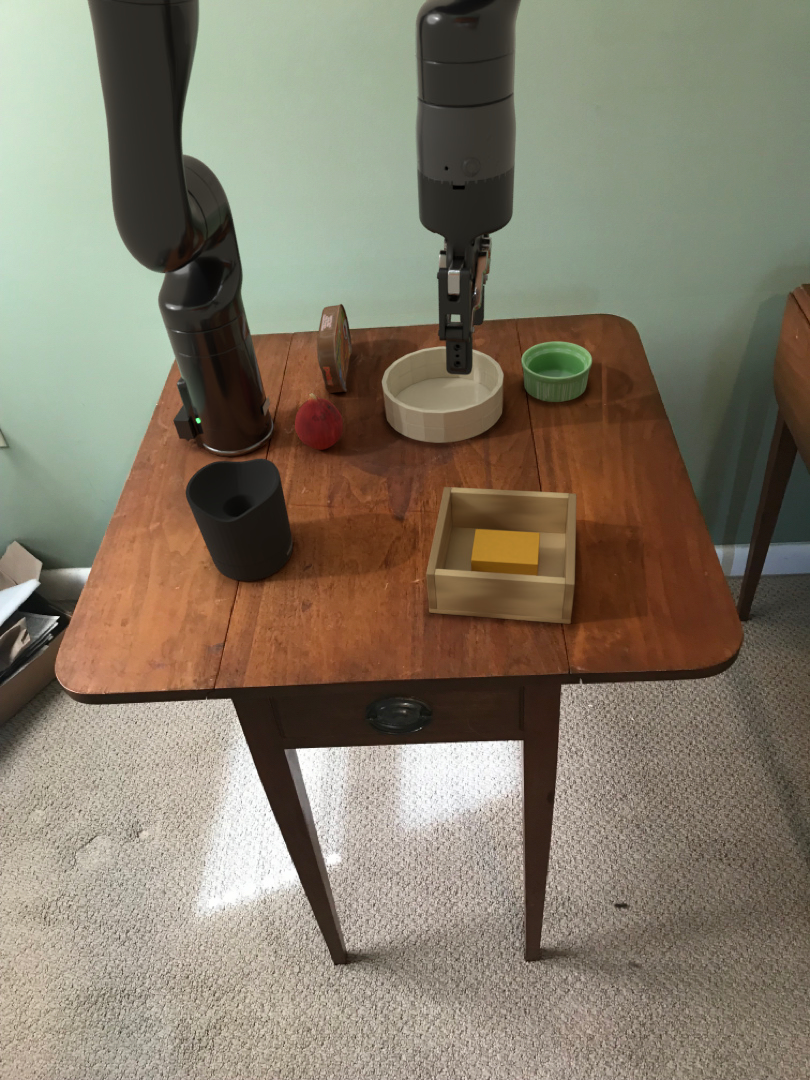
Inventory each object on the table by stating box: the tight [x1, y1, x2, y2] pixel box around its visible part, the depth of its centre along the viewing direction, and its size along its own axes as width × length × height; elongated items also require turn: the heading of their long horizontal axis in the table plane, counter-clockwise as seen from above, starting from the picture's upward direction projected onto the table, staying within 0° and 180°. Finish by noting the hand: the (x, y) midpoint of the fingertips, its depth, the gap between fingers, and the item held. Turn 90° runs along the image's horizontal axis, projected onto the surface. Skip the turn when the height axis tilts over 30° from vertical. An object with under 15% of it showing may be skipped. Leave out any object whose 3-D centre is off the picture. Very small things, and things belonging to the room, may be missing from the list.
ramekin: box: [520, 341, 593, 403], centre depth 100 cm, size 9×9×4 cm
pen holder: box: [185, 458, 294, 582], centre depth 80 cm, size 9×9×10 cm
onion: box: [294, 392, 344, 451], centre depth 93 cm, size 6×6×8 cm
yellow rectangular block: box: [471, 529, 540, 576], centre depth 77 cm, size 6×4×3 cm
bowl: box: [381, 345, 505, 444], centre depth 98 cm, size 15×15×5 cm
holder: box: [425, 486, 578, 625], centre depth 77 cm, size 14×13×6 cm
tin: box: [316, 303, 353, 394], centre depth 106 cm, size 15×3×8 cm, turn 179°
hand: (466, 347), depth 70 cm, fingers open, 8 cm apart
